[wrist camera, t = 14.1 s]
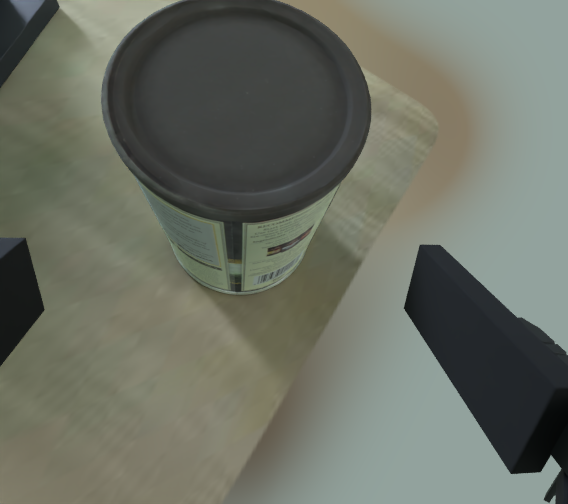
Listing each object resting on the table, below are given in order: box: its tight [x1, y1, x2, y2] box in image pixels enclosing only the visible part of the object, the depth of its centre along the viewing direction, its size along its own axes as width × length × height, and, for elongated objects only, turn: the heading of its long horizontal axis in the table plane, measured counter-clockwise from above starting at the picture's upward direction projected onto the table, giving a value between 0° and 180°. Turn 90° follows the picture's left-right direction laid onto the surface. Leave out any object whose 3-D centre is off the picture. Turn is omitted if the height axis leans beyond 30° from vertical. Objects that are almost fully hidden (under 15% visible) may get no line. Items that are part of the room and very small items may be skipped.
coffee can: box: [101, 0, 371, 295], centre depth 21 cm, size 10×10×14 cm
